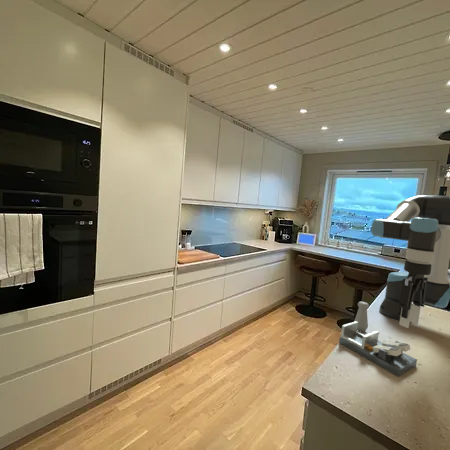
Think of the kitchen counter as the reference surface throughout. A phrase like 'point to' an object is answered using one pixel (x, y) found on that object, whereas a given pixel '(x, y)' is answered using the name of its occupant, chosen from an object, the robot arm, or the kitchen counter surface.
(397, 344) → the rocker
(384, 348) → the rocker
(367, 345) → the grey mechanical fixture
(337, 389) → the kitchen counter surface
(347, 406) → the kitchen counter surface
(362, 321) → the salt shaker
